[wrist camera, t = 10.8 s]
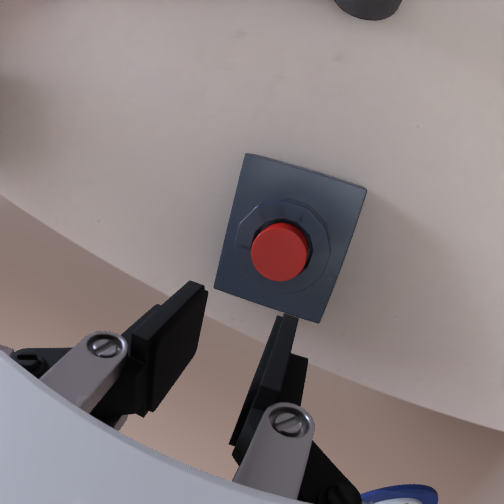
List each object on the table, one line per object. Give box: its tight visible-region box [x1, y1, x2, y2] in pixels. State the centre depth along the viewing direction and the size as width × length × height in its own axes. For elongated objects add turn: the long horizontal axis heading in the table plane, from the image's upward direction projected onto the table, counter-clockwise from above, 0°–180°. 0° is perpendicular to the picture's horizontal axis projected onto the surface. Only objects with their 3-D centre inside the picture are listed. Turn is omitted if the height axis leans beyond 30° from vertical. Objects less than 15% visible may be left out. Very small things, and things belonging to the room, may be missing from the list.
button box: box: [214, 154, 367, 324], centre depth 23 cm, size 11×9×4 cm
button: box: [251, 222, 308, 281], centre depth 21 cm, size 4×4×2 cm
